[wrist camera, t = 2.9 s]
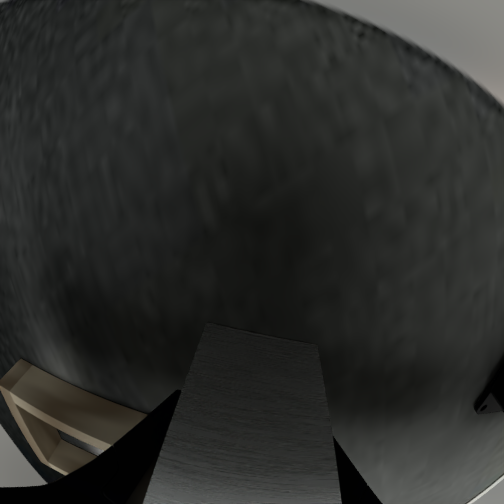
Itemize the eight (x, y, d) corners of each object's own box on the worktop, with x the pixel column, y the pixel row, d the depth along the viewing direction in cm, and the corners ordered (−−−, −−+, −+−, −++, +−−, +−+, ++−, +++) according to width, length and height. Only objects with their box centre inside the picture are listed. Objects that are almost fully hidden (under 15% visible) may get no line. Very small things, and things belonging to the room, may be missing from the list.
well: (160, 418, 12) (146, 457, 10) (162, 484, 15) (153, 511, 13) (20, 358, 12) (-3, 383, 10) (54, 440, 15) (40, 461, 13)
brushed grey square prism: (316, 344, 10) (347, 569, 3) (286, 413, 12) (284, 585, 4) (206, 321, 10) (128, 547, 3) (195, 395, 12) (145, 565, 4)
